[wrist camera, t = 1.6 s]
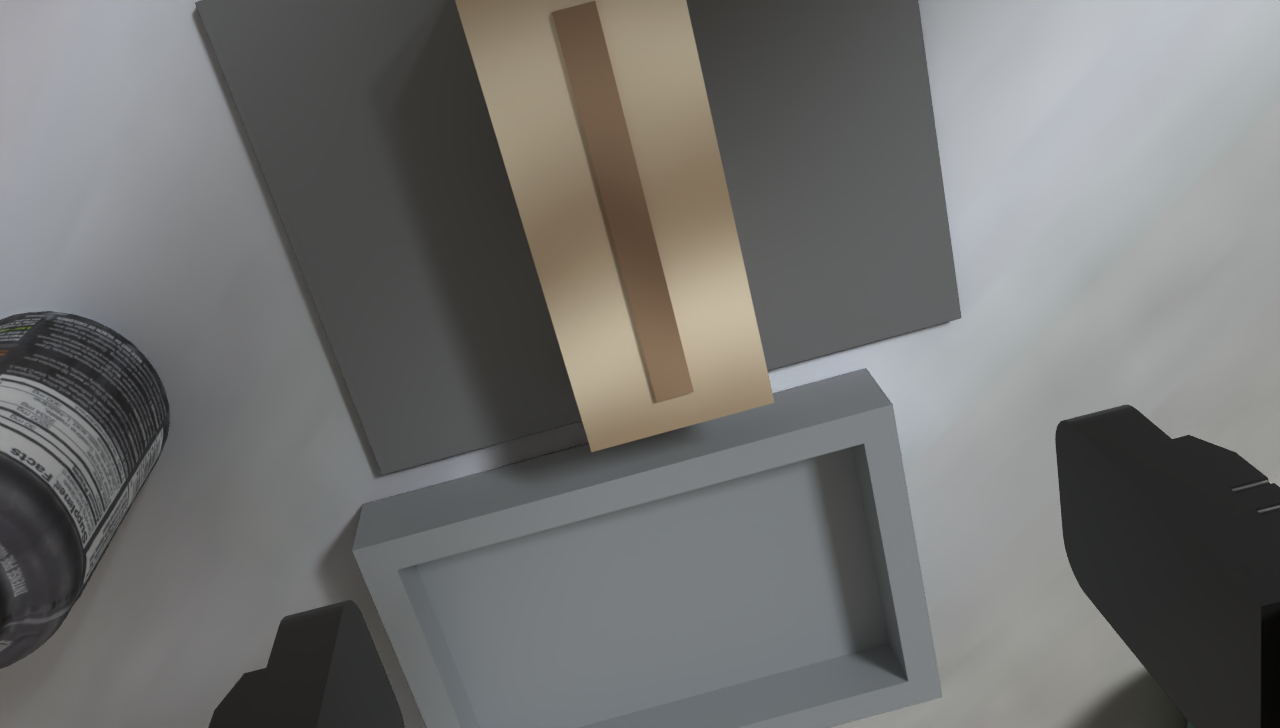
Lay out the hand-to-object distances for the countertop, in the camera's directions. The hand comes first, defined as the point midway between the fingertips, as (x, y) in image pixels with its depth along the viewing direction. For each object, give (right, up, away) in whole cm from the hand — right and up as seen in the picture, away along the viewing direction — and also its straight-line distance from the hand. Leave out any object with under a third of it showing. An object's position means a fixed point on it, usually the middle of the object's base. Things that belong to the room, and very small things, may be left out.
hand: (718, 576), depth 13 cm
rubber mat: (-2, +8, +19) cm, 20 cm away
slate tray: (0, -5, +24) cm, 25 cm away
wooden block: (-2, +8, +18) cm, 20 cm away
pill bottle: (-17, +1, +20) cm, 26 cm away
